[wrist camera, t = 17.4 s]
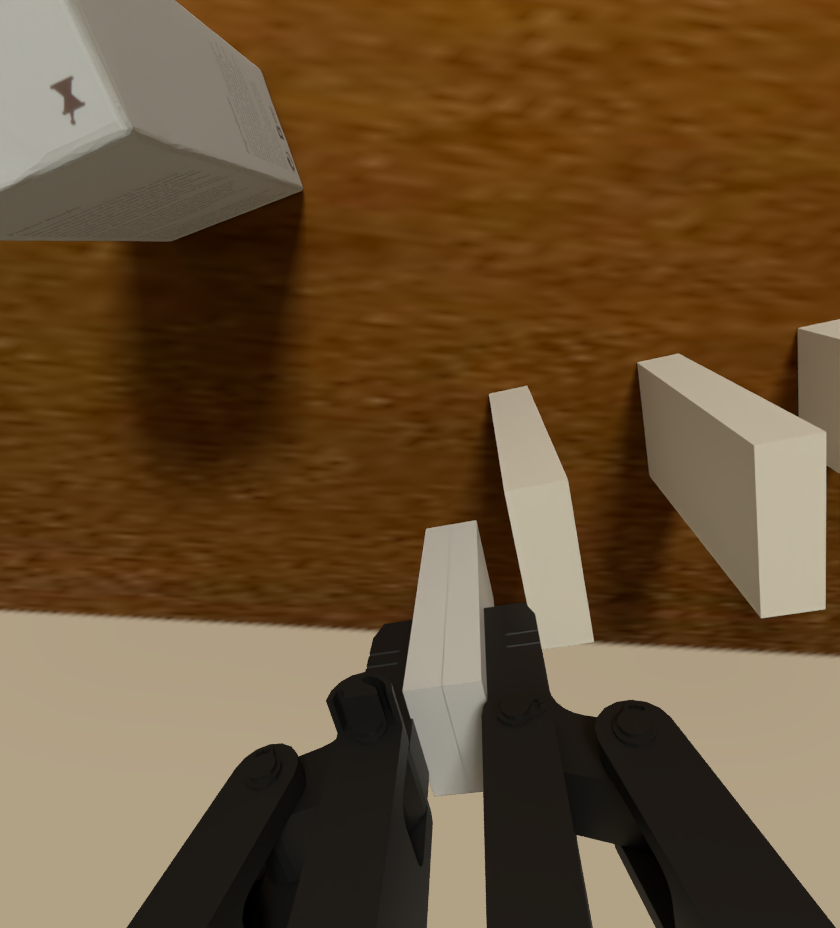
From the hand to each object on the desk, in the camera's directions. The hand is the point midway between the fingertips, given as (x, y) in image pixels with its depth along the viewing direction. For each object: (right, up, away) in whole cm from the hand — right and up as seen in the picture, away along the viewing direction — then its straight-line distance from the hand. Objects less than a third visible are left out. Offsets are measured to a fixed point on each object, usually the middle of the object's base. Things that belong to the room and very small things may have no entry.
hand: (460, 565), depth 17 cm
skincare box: (-9, +14, +5) cm, 18 cm away
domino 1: (+3, +4, +8) cm, 9 cm away
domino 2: (+9, +5, +7) cm, 12 cm away
